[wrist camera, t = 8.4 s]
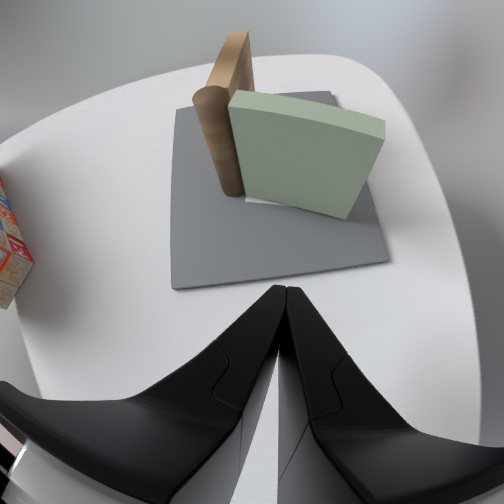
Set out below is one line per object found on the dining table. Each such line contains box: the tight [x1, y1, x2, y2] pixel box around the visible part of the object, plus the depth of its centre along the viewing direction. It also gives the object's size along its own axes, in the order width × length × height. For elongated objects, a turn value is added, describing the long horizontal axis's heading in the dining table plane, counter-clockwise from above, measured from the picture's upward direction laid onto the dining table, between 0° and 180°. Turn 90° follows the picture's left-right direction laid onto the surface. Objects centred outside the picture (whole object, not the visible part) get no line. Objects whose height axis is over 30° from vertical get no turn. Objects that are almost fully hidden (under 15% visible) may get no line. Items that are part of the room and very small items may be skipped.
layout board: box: [170, 91, 388, 290], centre depth 20 cm, size 16×14×1 cm
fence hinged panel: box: [228, 90, 385, 220], centre depth 14 cm, size 7×1×8 cm, turn 73°
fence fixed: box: [192, 31, 255, 197], centre depth 16 cm, size 9×2×8 cm, turn 172°
